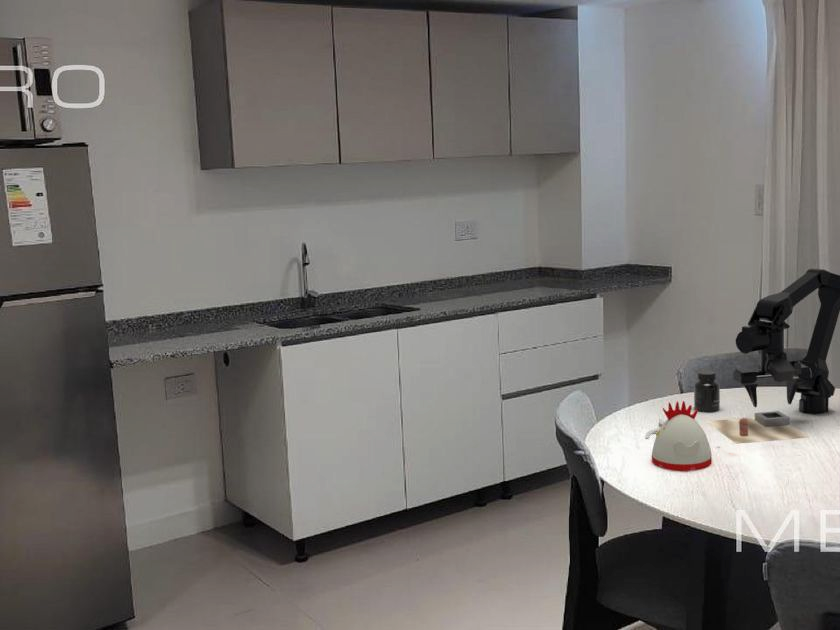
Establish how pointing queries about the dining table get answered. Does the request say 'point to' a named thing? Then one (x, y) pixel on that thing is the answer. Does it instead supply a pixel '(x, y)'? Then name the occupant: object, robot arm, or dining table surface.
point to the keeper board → (754, 430)
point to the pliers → (654, 429)
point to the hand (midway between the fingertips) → (772, 405)
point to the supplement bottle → (707, 392)
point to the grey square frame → (772, 419)
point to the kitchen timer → (681, 442)
